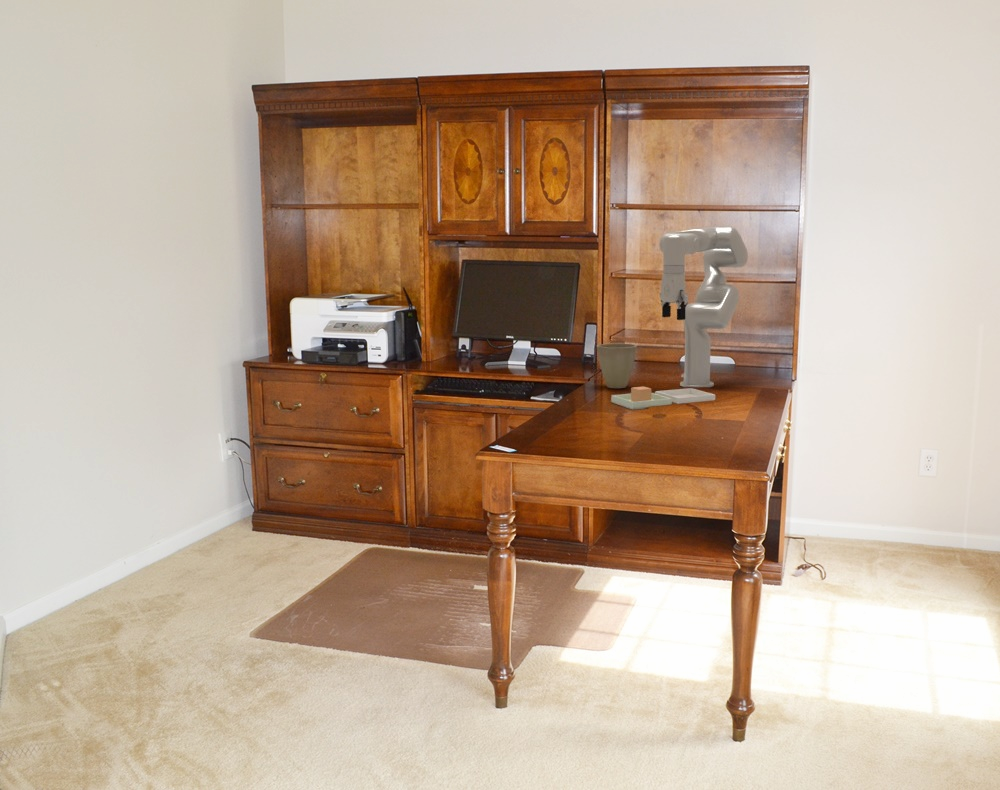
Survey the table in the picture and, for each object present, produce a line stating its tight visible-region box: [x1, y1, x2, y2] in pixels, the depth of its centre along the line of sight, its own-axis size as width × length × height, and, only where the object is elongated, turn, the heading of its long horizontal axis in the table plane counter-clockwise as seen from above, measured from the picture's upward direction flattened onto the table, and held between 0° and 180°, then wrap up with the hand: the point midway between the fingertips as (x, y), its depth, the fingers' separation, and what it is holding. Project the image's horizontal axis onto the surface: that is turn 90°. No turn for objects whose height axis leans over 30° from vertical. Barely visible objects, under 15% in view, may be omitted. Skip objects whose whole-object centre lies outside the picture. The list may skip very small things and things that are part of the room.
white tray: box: [654, 387, 716, 405], centre depth 333 cm, size 15×15×2 cm
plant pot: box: [596, 342, 638, 389], centre depth 361 cm, size 15×15×16 cm
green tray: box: [610, 392, 673, 410], centre depth 327 cm, size 15×15×2 cm
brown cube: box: [630, 386, 652, 402], centre depth 327 cm, size 5×5×5 cm
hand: (673, 318), depth 339 cm, fingers open, 9 cm apart
